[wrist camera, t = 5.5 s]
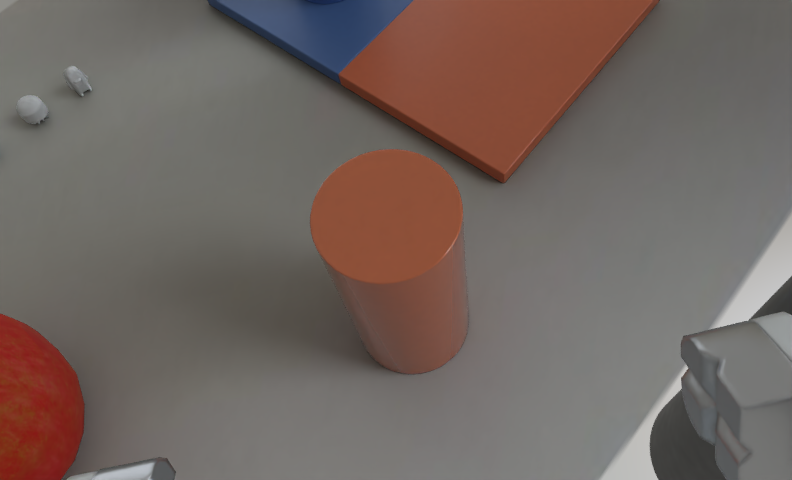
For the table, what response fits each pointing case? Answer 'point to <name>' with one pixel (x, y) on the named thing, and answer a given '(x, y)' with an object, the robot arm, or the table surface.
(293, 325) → the table surface
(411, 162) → the terracotta canister
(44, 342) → the apple
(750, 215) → the table surface
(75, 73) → the game pieces
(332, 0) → the blue canister
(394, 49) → the board
